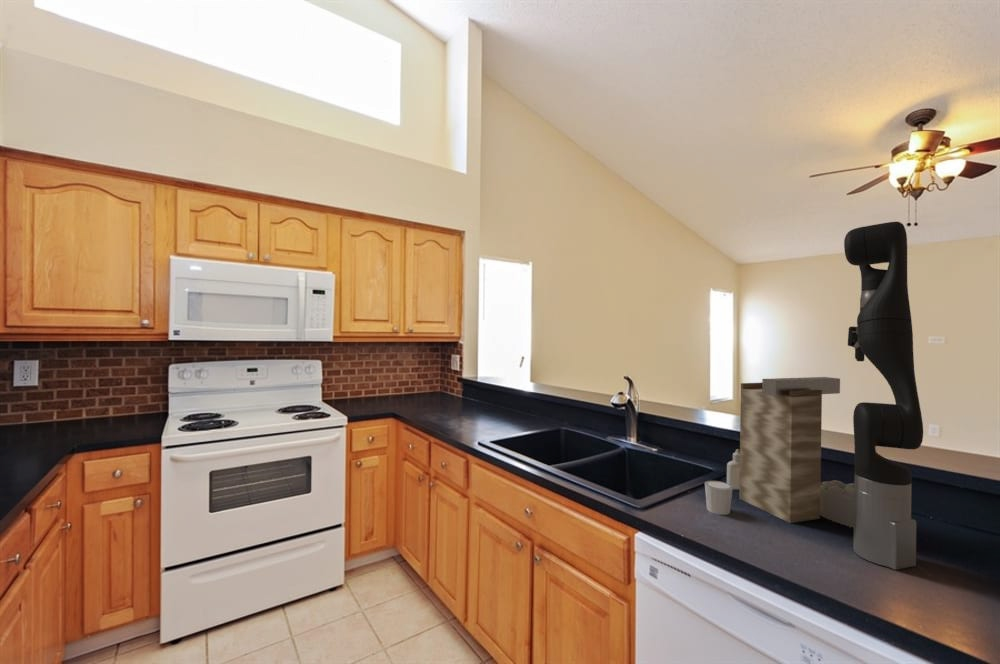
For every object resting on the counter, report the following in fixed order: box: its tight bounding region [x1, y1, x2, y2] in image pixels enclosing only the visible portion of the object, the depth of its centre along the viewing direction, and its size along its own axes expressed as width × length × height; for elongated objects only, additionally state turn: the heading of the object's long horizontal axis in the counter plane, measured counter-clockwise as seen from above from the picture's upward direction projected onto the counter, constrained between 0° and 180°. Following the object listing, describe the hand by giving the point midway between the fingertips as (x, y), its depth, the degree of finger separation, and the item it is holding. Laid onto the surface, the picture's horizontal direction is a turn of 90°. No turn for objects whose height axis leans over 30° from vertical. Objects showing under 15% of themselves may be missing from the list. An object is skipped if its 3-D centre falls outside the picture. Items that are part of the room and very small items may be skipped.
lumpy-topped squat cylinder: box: [820, 479, 855, 529], centre depth 113 cm, size 10×13×9 cm
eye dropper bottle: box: [726, 448, 740, 491], centre depth 133 cm, size 4×6×12 cm
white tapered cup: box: [704, 480, 734, 516], centre depth 117 cm, size 7×7×7 cm
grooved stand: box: [738, 382, 823, 524], centre depth 118 cm, size 16×10×34 cm, turn 16°
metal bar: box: [761, 376, 841, 396], centre depth 115 cm, size 4×22×4 cm, turn 106°
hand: (876, 362), depth 125 cm, fingers open, 8 cm apart
